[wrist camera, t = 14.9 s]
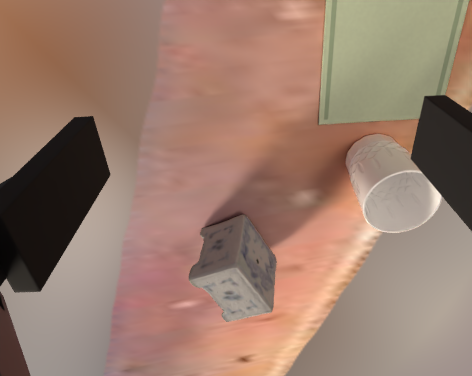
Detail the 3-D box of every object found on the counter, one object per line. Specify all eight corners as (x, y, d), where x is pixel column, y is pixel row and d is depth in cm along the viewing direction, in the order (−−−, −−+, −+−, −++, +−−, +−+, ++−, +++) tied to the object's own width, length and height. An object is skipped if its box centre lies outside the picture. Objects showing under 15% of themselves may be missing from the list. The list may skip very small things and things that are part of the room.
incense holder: (194, 230, 52) (185, 285, 43) (244, 207, 49) (245, 260, 41) (229, 272, 56) (227, 330, 48) (276, 253, 54) (283, 310, 45)
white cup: (409, 171, 46) (447, 218, 38) (349, 192, 48) (372, 242, 39) (397, 118, 42) (436, 158, 34) (332, 143, 44) (354, 187, 36)
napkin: (329, -59, 33) (330, -60, 33) (485, -72, 32) (487, -72, 32) (318, 123, 43) (318, 124, 42) (438, 116, 42) (439, 117, 42)
